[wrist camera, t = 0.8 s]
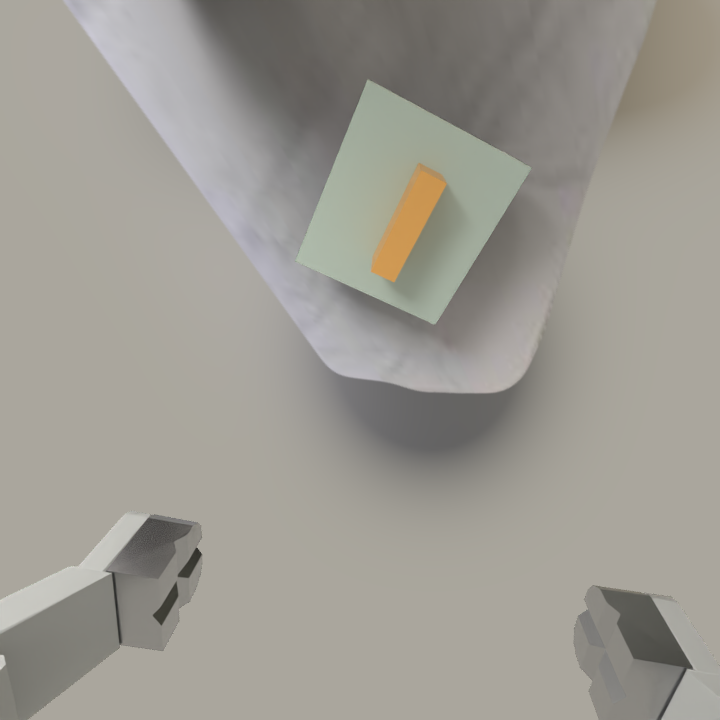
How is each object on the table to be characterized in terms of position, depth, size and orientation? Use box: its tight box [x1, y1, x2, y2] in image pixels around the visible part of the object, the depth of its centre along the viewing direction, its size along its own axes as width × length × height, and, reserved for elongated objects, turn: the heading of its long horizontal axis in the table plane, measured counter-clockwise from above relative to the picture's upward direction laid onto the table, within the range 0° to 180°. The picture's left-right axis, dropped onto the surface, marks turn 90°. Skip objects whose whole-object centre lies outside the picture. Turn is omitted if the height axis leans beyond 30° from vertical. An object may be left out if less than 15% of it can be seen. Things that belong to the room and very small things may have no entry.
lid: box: [295, 79, 532, 325], centre depth 36 cm, size 14×13×6 cm
